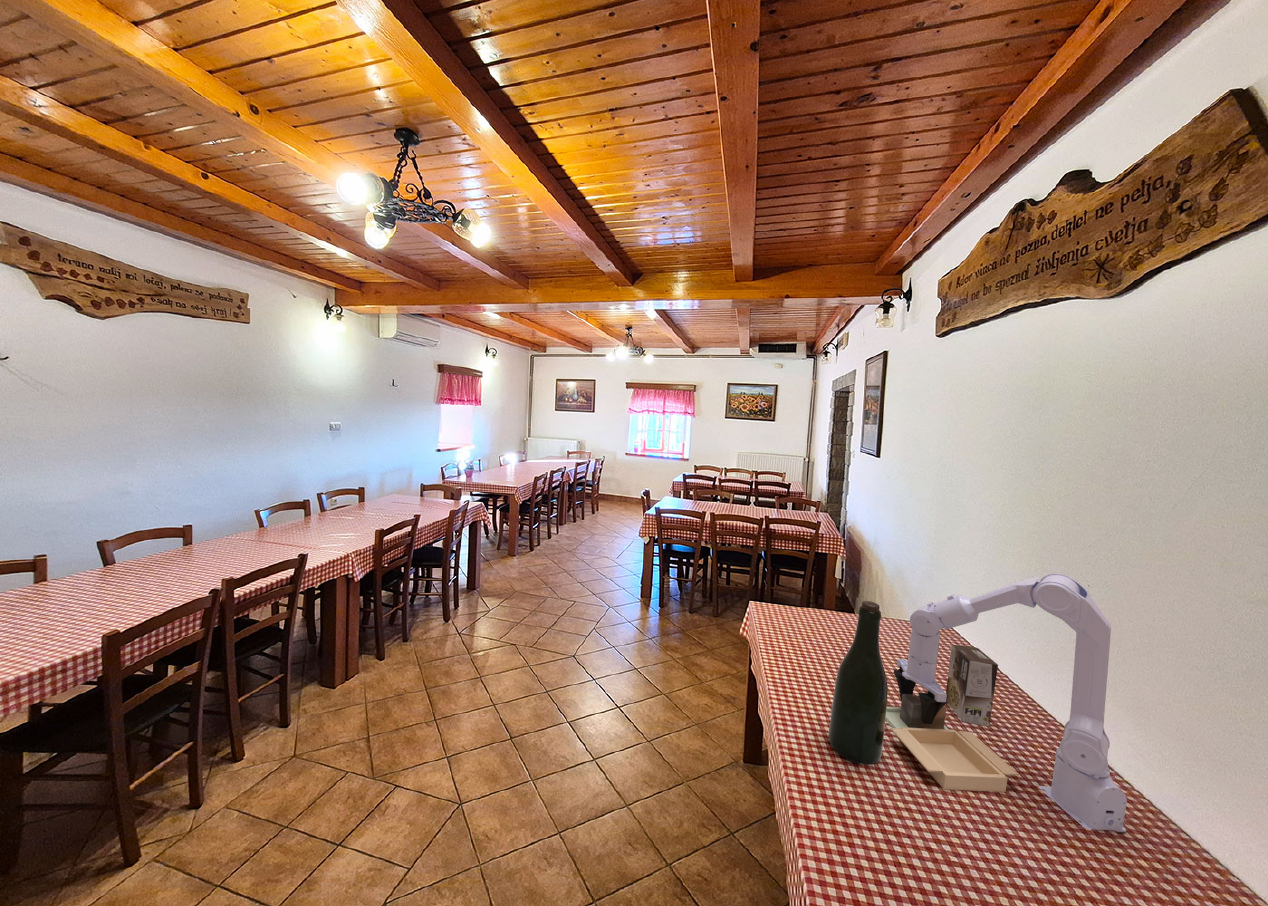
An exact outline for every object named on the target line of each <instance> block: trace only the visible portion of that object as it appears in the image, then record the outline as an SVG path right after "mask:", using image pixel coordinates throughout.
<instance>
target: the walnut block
mask: <svg viewBox="0 0 1268 906" xmlns="http://www.w3.org/2000/svg"><path fill="white" fill-rule="evenodd" d="M900 707H901V710H900V719H901V720H902V721H903V722H904V723H905V724H906V725H907V726H908V727H909V728H926V729H944V725H945V722H946V715H947V707H948V706H946V705H944V706H943V707H942V708H941V709H940V710H939V712H938V713H937V715H936V717H935V719H934V721H933V723H932V724H924V723H923V722H922V720H921V701H920V697H919V694H917V695H916V694H913V695H912V694H902V701H901V703H900Z"/></svg>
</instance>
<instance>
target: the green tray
mask: <svg viewBox="0 0 1268 906" xmlns="http://www.w3.org/2000/svg"><path fill="white" fill-rule="evenodd" d="M900 710H901V706H887V708H886V719H885V722H887V724H888V725H889V726H890V727H891V728H898V729H901V727H904V728H909V727H908V726H907V725H906V724H905V723H904V722H903V721H902V720H901V719H900ZM944 729H948V730H950V729H949V728H948V727H947V726H946V725H945V724H944Z"/></svg>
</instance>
